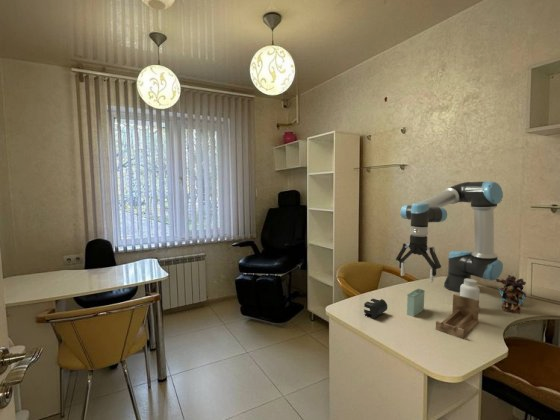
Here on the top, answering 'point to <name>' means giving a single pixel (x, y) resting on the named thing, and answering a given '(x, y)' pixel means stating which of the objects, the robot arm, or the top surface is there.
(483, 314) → the top surface
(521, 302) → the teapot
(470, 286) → the pill bottle
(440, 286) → the top surface
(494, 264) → the robot arm
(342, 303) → the top surface
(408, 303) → the door panel
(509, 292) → the figurine
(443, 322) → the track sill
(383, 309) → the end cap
